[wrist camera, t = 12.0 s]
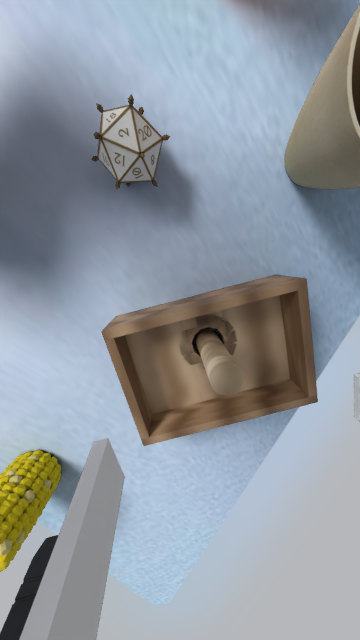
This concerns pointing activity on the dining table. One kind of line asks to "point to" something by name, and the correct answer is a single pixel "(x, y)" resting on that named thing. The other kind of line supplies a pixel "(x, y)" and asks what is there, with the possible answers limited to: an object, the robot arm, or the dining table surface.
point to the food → (24, 498)
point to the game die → (128, 144)
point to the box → (187, 366)
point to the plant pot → (330, 121)
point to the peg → (218, 363)
